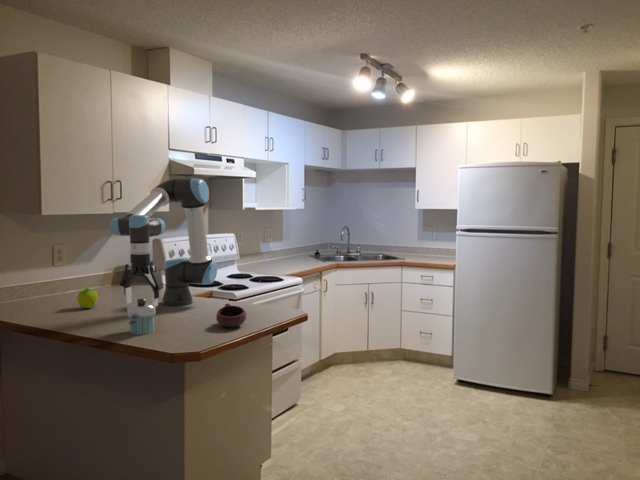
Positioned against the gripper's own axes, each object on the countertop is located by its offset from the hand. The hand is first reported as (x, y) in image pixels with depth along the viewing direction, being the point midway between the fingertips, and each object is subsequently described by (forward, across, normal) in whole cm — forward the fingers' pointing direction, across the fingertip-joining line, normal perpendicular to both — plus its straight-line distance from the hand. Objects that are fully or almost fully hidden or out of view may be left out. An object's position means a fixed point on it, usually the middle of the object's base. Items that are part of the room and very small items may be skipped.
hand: (141, 304), depth 217 cm
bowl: (+12, +27, +22) cm, 37 cm away
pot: (+11, 0, -1) cm, 11 cm away
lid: (+4, 0, 0) cm, 4 cm away
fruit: (+12, -55, +23) cm, 61 cm away
